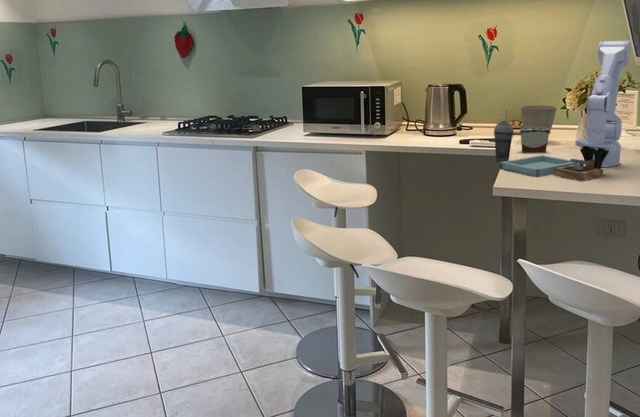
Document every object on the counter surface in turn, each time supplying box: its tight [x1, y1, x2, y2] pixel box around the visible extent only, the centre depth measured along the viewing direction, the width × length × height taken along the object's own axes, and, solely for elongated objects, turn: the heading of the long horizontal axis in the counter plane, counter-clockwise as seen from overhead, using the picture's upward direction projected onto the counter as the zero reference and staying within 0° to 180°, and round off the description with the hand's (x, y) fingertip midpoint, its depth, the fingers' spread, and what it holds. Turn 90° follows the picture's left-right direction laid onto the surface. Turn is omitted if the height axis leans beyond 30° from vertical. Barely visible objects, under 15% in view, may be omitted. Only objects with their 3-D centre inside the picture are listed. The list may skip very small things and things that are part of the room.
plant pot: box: [520, 104, 558, 132], centre depth 279 cm, size 15×15×16 cm
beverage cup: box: [493, 109, 514, 164], centre depth 240 cm, size 7×7×20 cm
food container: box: [519, 127, 551, 154], centre depth 260 cm, size 12×6×10 cm, turn 85°
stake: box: [570, 158, 588, 172], centre depth 215 cm, size 3×6×6 cm, turn 30°
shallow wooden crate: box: [553, 159, 604, 181], centre depth 216 cm, size 15×11×4 cm
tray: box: [499, 154, 574, 178], centre depth 228 cm, size 22×17×2 cm
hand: (592, 169), depth 219 cm, fingers closed on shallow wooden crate, 3 cm apart
